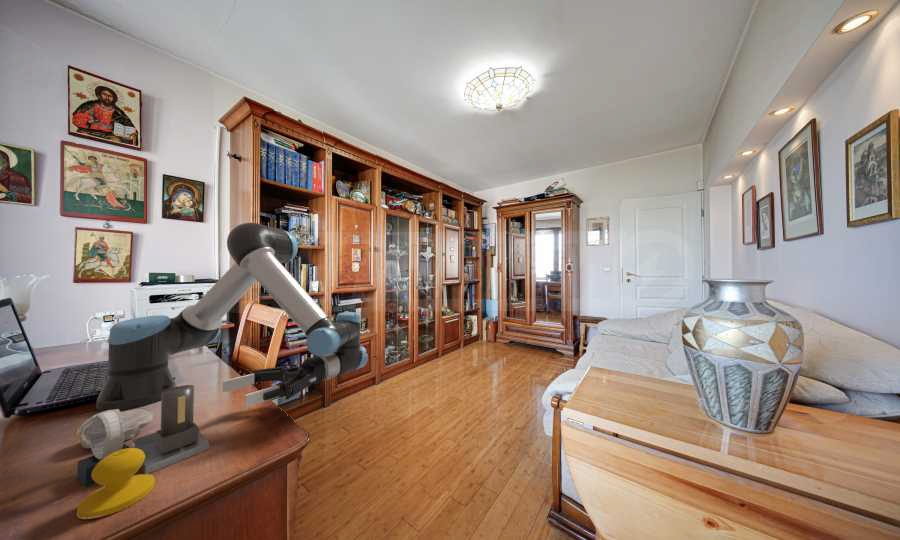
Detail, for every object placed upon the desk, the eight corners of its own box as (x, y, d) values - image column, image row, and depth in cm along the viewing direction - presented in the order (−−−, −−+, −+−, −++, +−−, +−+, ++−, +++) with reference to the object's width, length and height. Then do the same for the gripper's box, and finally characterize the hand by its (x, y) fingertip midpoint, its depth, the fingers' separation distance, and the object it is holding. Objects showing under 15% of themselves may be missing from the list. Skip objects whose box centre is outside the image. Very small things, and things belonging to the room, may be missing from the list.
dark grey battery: (156, 445, 55) (157, 391, 56) (190, 433, 60) (191, 383, 60) (162, 454, 52) (163, 397, 53) (198, 441, 57) (198, 387, 57)
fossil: (162, 417, 64) (102, 420, 55) (145, 448, 62) (80, 456, 53) (144, 406, 67) (84, 408, 59) (127, 436, 65) (63, 442, 56)
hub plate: (131, 447, 57) (132, 429, 57) (189, 427, 65) (189, 411, 65) (145, 474, 49) (146, 454, 49) (209, 448, 57) (209, 431, 57)
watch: (119, 456, 54) (121, 401, 54) (136, 469, 51) (138, 410, 51) (72, 475, 49) (74, 414, 49) (88, 490, 46) (90, 425, 46)
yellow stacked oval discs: (123, 515, 41) (57, 524, 40) (167, 477, 49) (114, 483, 47) (125, 466, 41) (59, 472, 40) (168, 435, 49) (115, 440, 48)
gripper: (344, 391, 74) (255, 426, 57) (298, 372, 88) (215, 396, 71) (345, 363, 74) (256, 390, 57) (298, 349, 88) (216, 367, 71)
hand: (233, 393), depth 64 cm, fingers open, 13 cm apart
